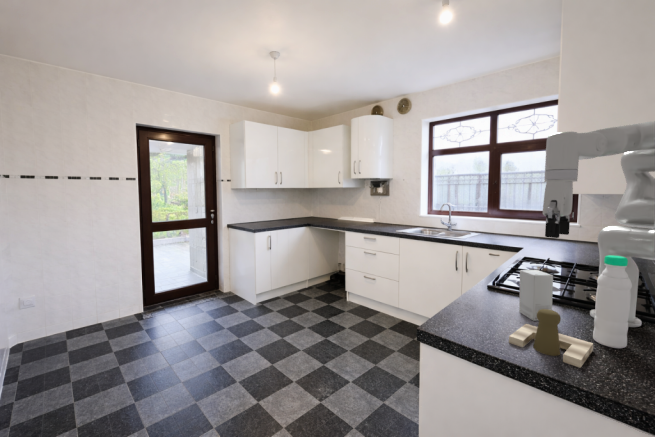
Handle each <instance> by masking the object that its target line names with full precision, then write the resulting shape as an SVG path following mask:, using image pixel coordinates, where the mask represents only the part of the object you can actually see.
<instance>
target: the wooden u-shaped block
mask: <svg viewBox="0 0 655 437" xmlns="http://www.w3.org/2000/svg"><path fill="white" fill-rule="evenodd" d="M537 328H538V326H535V325H532V324H529V323H524V324H523V325H522V326H521V327H519V328H518V329H517V330H515V331H514V332H513V333H511V334H509V335H508V336H509V337H508V343H509V344H511V345H514V346H517V347H519V348H522V349H523V348H524V347H525V346H527V344H529V343H530V342H531V341H532V340H535V337H536V332H537ZM558 334H559V344H560V349H563V350H566V351H565V352H564V353H563V354H562V356H563V357H562V362H563V363H565V364H568V365H571V366H574V367H577V368H582V366H583V365H584V364H585V362H586V361H587V360H588V358H589V357H590V356H591V354H592V352H594V343H593V342H590V341H587V340H584V339H579V338H576V337H573V336H570V335H566V334H564V333H559V332H558Z"/></svg>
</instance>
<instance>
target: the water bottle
mask: <svg viewBox="0 0 655 437" xmlns="http://www.w3.org/2000/svg"><path fill="white" fill-rule="evenodd" d="M604 263H605V265H606V268H605V270H603V272H602V274H601V275H600V276H599V275H598V277H597V280H596V283H597V288H596V294H595V311H596V315H595V318H593V319H594V320H593V323H594V324H593V325H594V328H593V332H592V338H593V340H594V341H595V342H597V344H600V345H602V346H604V347H608V348H614V349H623V348H626V347H627V345H628V331H629V327H628V317H629V311H630V299H631V293H630V289H631V287H632V283H631V281H630V279H629V278H628V275H627V273H626V272H625V268H626V267H627V264H628V259H627V258H625V257H622V256H614V255H608V256H605V258H604Z"/></svg>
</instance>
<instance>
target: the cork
mask: <svg viewBox="0 0 655 437" xmlns="http://www.w3.org/2000/svg"><path fill="white" fill-rule="evenodd" d="M537 319H538V320H539V321H538V323H537V324H538V325H537V327H538V328H537V332H536V337H535V339H534V342H533V346H532V348H533V350H535V351H537V352H538V353H540V354H542V355H547V356H552V357H557V356H560V355H561V348H560V344H559V334H558V333H559V326H558V325H559V324H560V323H561V315H560V314H559V313H558V312H557V311H556V310H553V309H552V310H549V309H540V310H539V311H538V312H537Z"/></svg>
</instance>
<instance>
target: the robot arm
mask: <svg viewBox="0 0 655 437" xmlns="http://www.w3.org/2000/svg"><path fill="white" fill-rule="evenodd" d="M545 145H546V146H545V147H546V148H545V166H544V183H546V184H545V188H544V195H543V202H542V203H543V205H542V215H543V216H545V217H546V218H545V230H544V231H545V233H544V237H545V238H553V239H558V238H560V235H565V236H567V235H568V236H569V235H570V227H571V226H570V223H571V221H570V220H571V217H570V215H571V213H572V212H573V211H572V210H573V198H574V197H573V196H574V194H573V192H574V184H573V183H574V182H578V178H579V175H578V174H579V161H582V160H589V159H590V160H591V159H594V158H595V159H596V158H601V157H602V158H603V157H609V156H615V155H621V154H622V155H621V158H620V165H621V166H620V167H621V169H622V172H623V175H624V178H625V182H626V188H625V189H624V192H623V195H622V197H621V199H620V201H619V203H618V205H617V208H616V211H615V213H614V219H615V221H616V222H617V223H618V224H621V225H610V226H606V227H604V228H602V229H601V230H600V231H599V232H598V234H597V246H598V251H599V267H598V277H599V276H600V275H601V274H602V272H603V270H605V268H606V265H605V263H604V258H605V256H608V255H614V256H622V257H625V258H627V259H628V264H627V267H626V268H625V272H626V273H627V275H628V278H629V279H630V281H631V283H632V287H631V289H630V293H631V299H630V311H629V317H628V328H638V327H641V326H642V320H641V319H640V318H638V317H636V309H637V299H638V289H639V288H638V287H639V276H640V269H639V266H638V265H637V263H636V262H635V260H634V259H633V258H637V259H643V260H651V261H652V260H653V261H655V177H654V176H652V174H651V172H652V173H653V172H654V173H655V120H653V121H647V122H640V123H634V124H627V125H620V126H613V127H607V128H600V129H596V130H591V131H589V132H577V131H560V132H555V133H552V134H549V135H548V137H546V144H545ZM589 315H590V316H591V318H593V319H595V315H596V311H595V309H591V310H589Z"/></svg>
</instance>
